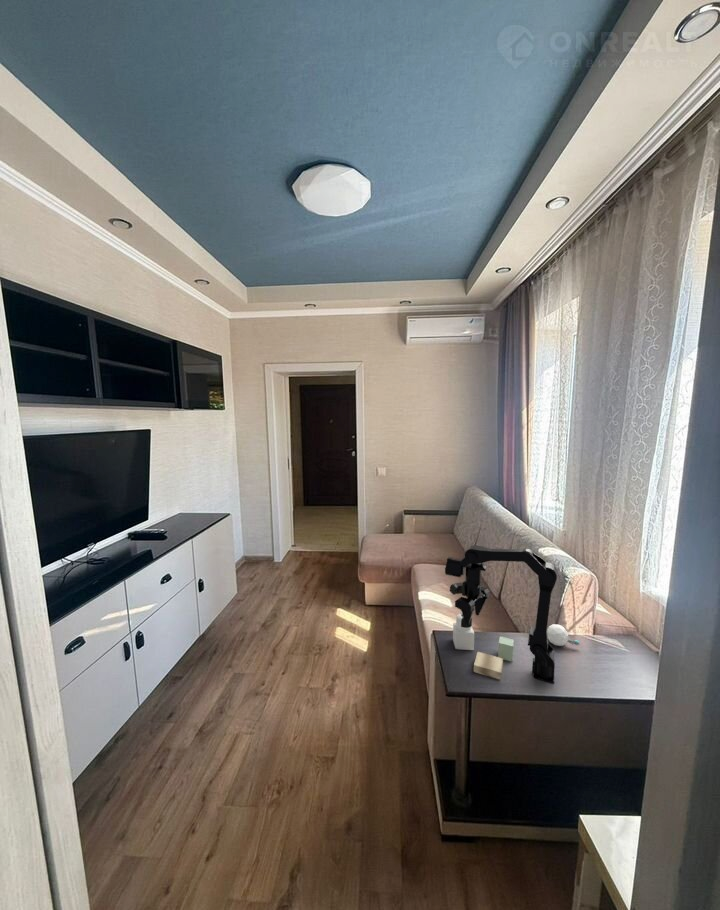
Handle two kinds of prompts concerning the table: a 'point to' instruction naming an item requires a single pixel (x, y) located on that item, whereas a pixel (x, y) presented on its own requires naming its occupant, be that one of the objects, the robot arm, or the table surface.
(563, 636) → the perfume bottle
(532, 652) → the robot arm
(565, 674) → the table surface
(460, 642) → the medicine bottle
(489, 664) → the oak slab
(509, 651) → the green block
